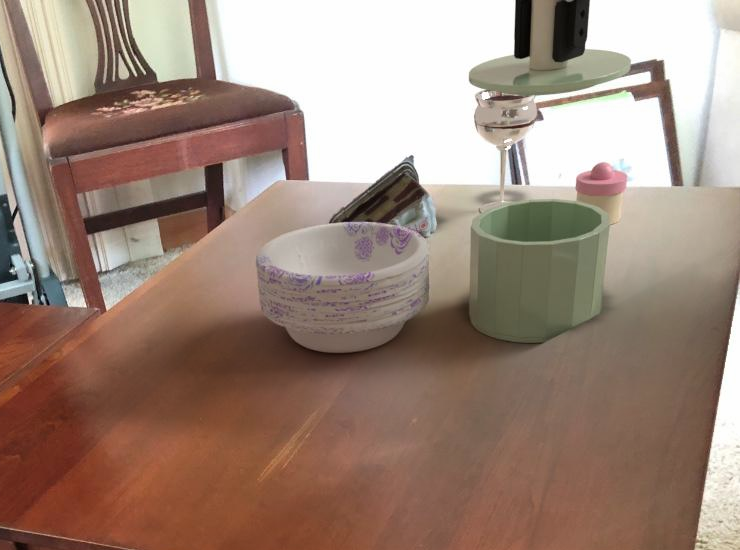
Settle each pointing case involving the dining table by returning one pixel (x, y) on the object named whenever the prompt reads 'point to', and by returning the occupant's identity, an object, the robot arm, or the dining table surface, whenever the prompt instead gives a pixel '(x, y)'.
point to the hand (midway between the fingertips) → (549, 54)
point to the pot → (536, 268)
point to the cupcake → (603, 189)
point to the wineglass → (503, 125)
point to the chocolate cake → (393, 202)
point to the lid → (547, 64)
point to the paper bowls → (344, 283)
